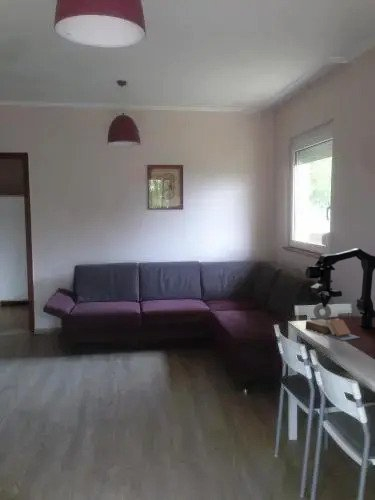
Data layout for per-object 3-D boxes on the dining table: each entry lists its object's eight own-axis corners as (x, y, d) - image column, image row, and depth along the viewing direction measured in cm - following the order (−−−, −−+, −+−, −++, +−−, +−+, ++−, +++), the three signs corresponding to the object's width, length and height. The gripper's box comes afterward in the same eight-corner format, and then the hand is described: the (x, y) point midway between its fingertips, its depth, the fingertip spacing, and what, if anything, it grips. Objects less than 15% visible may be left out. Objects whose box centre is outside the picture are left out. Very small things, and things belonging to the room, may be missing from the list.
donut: (330, 320, 262) (331, 303, 261) (330, 321, 259) (331, 304, 258) (313, 318, 265) (313, 302, 264) (312, 320, 262) (313, 303, 261)
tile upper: (340, 321, 234) (342, 319, 233) (348, 335, 229) (350, 333, 228) (329, 323, 230) (331, 321, 229) (337, 336, 226) (339, 334, 224)
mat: (342, 332, 236) (342, 331, 236) (359, 338, 226) (359, 337, 226) (325, 335, 230) (325, 334, 230) (342, 340, 220) (342, 339, 220)
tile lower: (336, 320, 237) (338, 318, 235) (344, 333, 232) (346, 331, 231) (325, 321, 233) (327, 319, 231) (333, 335, 228) (335, 333, 227)
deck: (322, 326, 248) (322, 318, 248) (341, 332, 236) (342, 324, 236) (305, 328, 243) (306, 321, 242) (325, 335, 230) (325, 327, 230)
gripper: (301, 277, 245) (300, 305, 247) (327, 281, 229) (326, 312, 231) (316, 275, 251) (315, 303, 252) (343, 280, 235) (342, 309, 236)
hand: (324, 307), depth 243 cm, fingers closed
